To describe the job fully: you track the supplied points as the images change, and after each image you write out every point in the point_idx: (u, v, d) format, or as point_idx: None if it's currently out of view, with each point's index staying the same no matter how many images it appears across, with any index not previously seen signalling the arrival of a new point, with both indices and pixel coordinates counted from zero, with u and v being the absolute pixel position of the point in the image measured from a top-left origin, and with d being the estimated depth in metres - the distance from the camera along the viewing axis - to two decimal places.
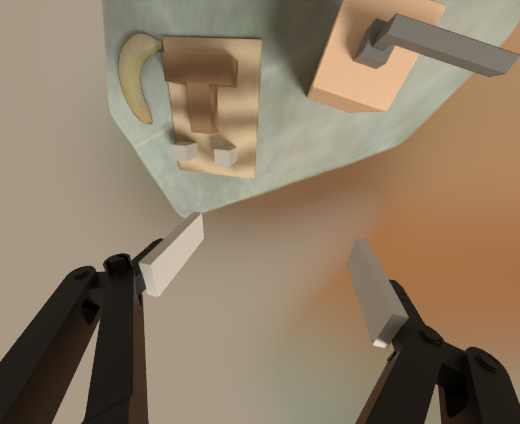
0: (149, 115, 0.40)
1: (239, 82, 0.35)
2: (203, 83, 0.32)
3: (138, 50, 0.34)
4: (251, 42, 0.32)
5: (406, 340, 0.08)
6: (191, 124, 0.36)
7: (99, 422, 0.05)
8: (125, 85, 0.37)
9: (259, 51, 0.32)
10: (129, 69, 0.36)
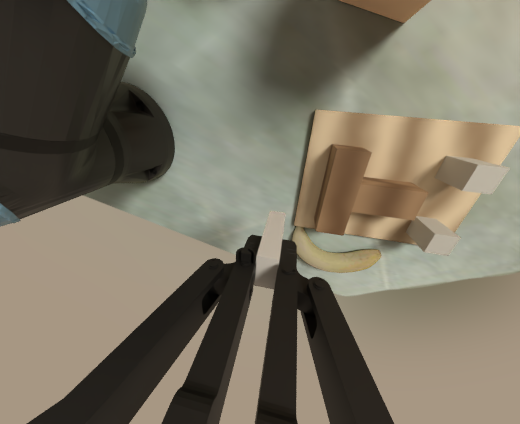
0: (369, 251, 0.33)
1: (355, 143, 0.26)
2: (358, 190, 0.25)
3: (307, 248, 0.34)
4: (316, 123, 0.26)
5: (276, 282, 0.11)
6: (403, 217, 0.25)
7: (189, 402, 0.06)
8: (339, 267, 0.33)
9: (327, 112, 0.25)
10: (324, 260, 0.34)
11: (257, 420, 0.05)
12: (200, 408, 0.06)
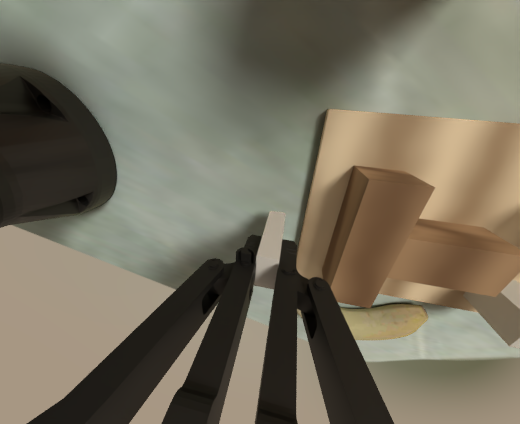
0: (408, 308, 0.22)
1: (394, 165, 0.15)
2: (402, 247, 0.14)
3: None
4: (328, 131, 0.15)
5: (276, 282, 0.11)
6: (477, 291, 0.15)
7: (189, 402, 0.06)
8: (363, 335, 0.23)
9: (349, 114, 0.14)
10: None
11: (257, 420, 0.05)
12: (200, 408, 0.06)
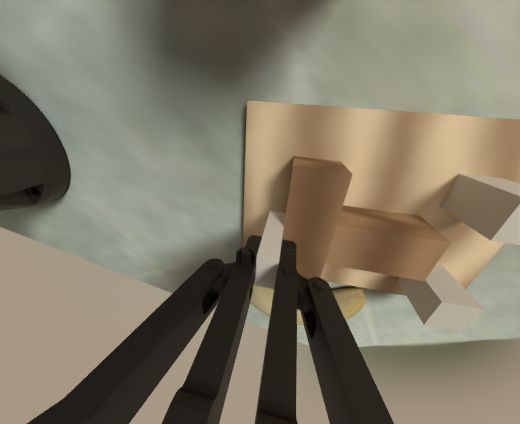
0: (349, 291, 0.22)
1: (314, 154, 0.16)
2: (334, 234, 0.15)
3: (260, 296, 0.24)
4: (250, 122, 0.16)
5: (276, 282, 0.11)
6: (407, 276, 0.16)
7: (189, 402, 0.06)
8: None
9: (265, 105, 0.15)
10: None
11: (257, 420, 0.05)
12: (200, 408, 0.06)
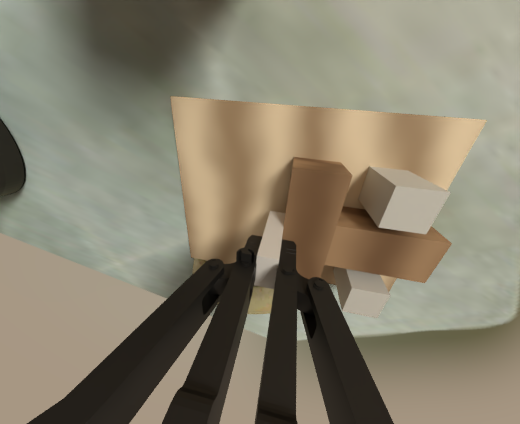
0: None
1: (238, 147, 0.17)
2: (333, 235, 0.15)
3: None
4: (176, 117, 0.17)
5: (275, 282, 0.11)
6: (407, 277, 0.15)
7: (189, 402, 0.06)
8: (254, 308, 0.24)
9: (187, 100, 0.16)
10: None
11: (257, 420, 0.05)
12: (200, 408, 0.06)
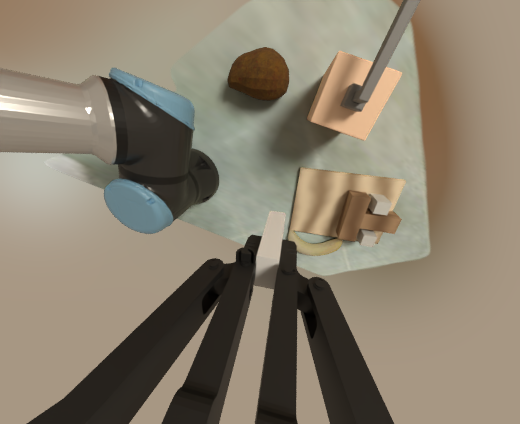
0: (335, 239, 0.53)
1: (322, 185, 0.47)
2: (363, 217, 0.45)
3: (297, 242, 0.55)
4: (301, 174, 0.47)
5: (276, 282, 0.11)
6: (388, 232, 0.45)
7: (189, 402, 0.06)
8: (318, 252, 0.54)
9: (307, 170, 0.46)
10: (309, 249, 0.55)
11: (257, 420, 0.05)
12: (200, 408, 0.06)
